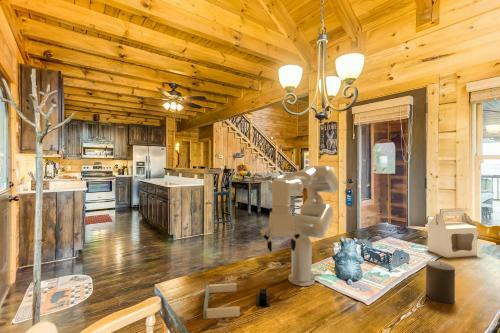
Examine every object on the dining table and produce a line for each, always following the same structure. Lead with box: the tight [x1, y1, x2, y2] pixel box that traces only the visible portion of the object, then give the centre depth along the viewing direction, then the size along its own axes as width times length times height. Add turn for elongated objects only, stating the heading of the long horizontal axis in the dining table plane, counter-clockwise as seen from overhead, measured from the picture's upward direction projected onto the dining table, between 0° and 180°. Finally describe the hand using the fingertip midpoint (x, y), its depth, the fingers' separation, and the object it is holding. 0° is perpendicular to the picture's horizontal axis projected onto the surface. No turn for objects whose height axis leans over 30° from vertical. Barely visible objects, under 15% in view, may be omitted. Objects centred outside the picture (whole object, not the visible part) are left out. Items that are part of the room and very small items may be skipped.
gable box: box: [427, 207, 478, 258], centre depth 156 cm, size 22×13×28 cm, turn 99°
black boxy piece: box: [255, 288, 271, 308], centre depth 103 cm, size 12×7×5 cm, turn 175°
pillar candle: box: [425, 260, 456, 304], centre depth 105 cm, size 10×10×15 cm
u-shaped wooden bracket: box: [202, 282, 241, 320], centre depth 101 cm, size 13×19×3 cm
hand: (281, 250), depth 104 cm, fingers open, 9 cm apart
